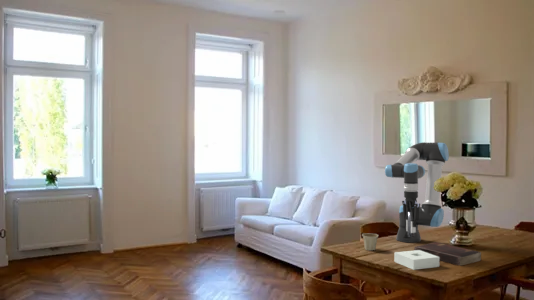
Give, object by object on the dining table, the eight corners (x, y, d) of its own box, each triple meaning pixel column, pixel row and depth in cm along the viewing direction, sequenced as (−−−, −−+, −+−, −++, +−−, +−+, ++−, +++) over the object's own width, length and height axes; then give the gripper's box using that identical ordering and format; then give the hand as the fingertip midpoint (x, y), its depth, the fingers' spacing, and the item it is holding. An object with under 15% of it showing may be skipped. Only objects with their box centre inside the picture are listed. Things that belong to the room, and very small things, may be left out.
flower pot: (378, 251, 271) (378, 237, 271) (362, 251, 273) (362, 236, 273) (378, 248, 280) (378, 233, 280) (362, 247, 282) (362, 233, 282)
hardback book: (414, 255, 266) (414, 246, 266) (435, 250, 276) (435, 242, 276) (459, 266, 242) (459, 257, 241) (481, 261, 252) (481, 252, 252)
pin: (411, 235, 267) (411, 211, 267) (415, 236, 264) (415, 212, 263) (406, 235, 266) (406, 211, 265) (410, 237, 263) (410, 212, 262)
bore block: (419, 259, 255) (419, 249, 255) (439, 266, 240) (439, 256, 240) (394, 261, 249) (394, 252, 249) (413, 269, 234) (413, 259, 234)
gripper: (396, 189, 270) (396, 229, 271) (414, 192, 255) (414, 235, 256) (407, 188, 273) (407, 228, 274) (426, 192, 257) (426, 234, 259)
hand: (411, 231), depth 265 cm, fingers closed on pin, 3 cm apart
